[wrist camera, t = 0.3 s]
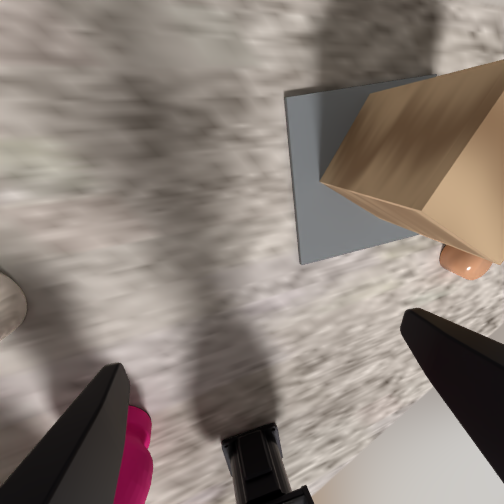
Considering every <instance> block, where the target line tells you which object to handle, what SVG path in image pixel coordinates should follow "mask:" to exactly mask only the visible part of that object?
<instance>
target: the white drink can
mask: <svg viewBox="0 0 504 504" xmlns="http://www.w3.org/2000/svg"><path fill="white" fill-rule="evenodd" d="M26 313H27V301H26V298H25V295H24V293H23V292H22V290H21V289H20V287H19V286H18V285H17V284H16V283H15V282H14V281H13V280H12V279H11V278H9V277H8V276H6V275H5V274H3V273H1V272H0V341H1V340H3V339H4V338H5V337H7V336H8V335H9V334H11V333H12V332H13V331H15V330H16V329H17V328H18V327H19V326H20V325H21V323H22V322H23V320H24V318H25V316H26Z"/></svg>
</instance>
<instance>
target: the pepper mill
mask: <svg viewBox="0 0 504 504" xmlns="http://www.w3.org/2000/svg"><path fill="white" fill-rule="evenodd" d="M151 427H152V423H151V419H150V417H149V416H148V415H147V413H146V412H144V411H143V410H141V409H139V408H137V407H134V406H129V405H128V415H127V426H126V436H125V445H124V451H123V457H122V462H121V467H120V472H119V477H118V482H117V487H116V492H115V497H114V502H113V504H145V501H146V498H147V495H148V492H149V489H150V485H151V479H152V473H153V460H152V457H151V455H150V453H149V451H148V450H147V448H148V447H149V444H150V436H151Z"/></svg>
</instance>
